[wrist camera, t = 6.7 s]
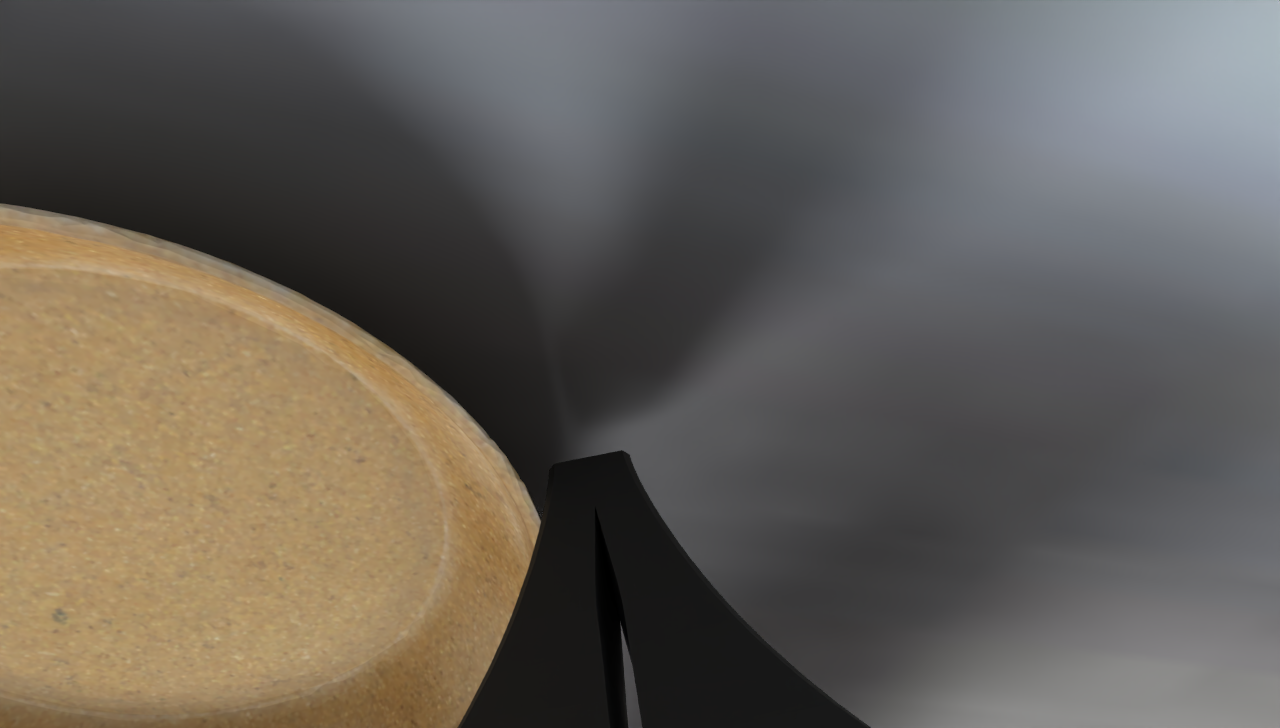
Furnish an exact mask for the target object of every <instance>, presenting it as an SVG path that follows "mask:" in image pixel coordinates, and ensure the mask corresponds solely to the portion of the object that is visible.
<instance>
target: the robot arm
mask: <svg viewBox="0 0 1280 728" xmlns="http://www.w3.org/2000/svg"><path fill="white" fill-rule="evenodd" d="M620 622H621V625H622V629H623V633H624V636H625V640H626V644H627V648H628V651H629V655H630V659H631V662H632V666H633V671H634V677H635V683H636V689H637V695H638V702H639V708H640V715H641V721H642V727H643V728H871V727H869V726H868V725H867V724H865V723H864V722H862V721H861V720H859V719H858V718H857V717H855V716H854V715H853V714H851V713H850V712H849V711H847V710H846V709H845V708H843V707H842V706H841V705H839V704H838V703H837V702H835V701H834V700H833V699H832V698H830V697H829V696H828V695H827V694H825V693H824V692H823V691H822V690H821V689H819V688H818V687H817V686H816V685H814V684H813V683H812V682H811V681H809V680H808V679H807V678H806V677H804V676H803V675H802V674H801V673H800V672H799V671H798V670H797V669H796V668H794V667H793V666H792V665H791V664H790V663H789V662H788V661H787V660H786V659H784V658H783V657H782V656H781V655H780V654H779V653H778V652H777V651H775V650H774V649H773V648H772V647H771V646H770V645H769V644H768V643H767V642H765V641H764V640H763V639H762V638H761V637H760V636H759V635H758V634H757V633H756V632H755V631H754V630H753V629H752V628H751V627H750V626H749V625H748V624H747V623H746V622H745V621H744V620H743V619H742V618H741V617H740V616H739V615H738V613H737V612H736V611H735V610H734V609H733V608H732V607H731V606H730V605H729V604H728V603H727V602H726V601H725V599H724V598H723V597H722V596H721V595H720V594H719V593H718V592H717V590H716V589H715V588H714V587H713V586H712V585H711V583H710V582H709V581H708V580H707V579H706V577H705V576H704V575H703V574H702V572H701V571H700V570H699V569H698V567H697V566H696V565H695V564H694V562H693V561H692V560H691V559H690V557H689V556H688V555H687V553H686V552H685V551H684V549H683V548H682V547H681V545H680V544H679V543H678V541H677V540H676V538H675V537H674V535H673V534H672V532H671V531H670V529H669V528H668V527H667V525H666V524H665V522H664V521H663V519H662V518H661V516H660V515H659V513H658V511H657V510H656V508H655V507H654V505H653V503H652V502H651V500H650V498H649V496H648V495H647V493H646V491H645V489H644V487H643V486H642V484H641V482H640V480H639V478H638V476H637V473H636V471H635V469H634V466H633V464H632V461H631V458H630V455H629V454H628V453H626V452H624V451H617V452H612V453H606V454H601V455H596V456H591V457H586V458H581V459H576V460H571V461H566V462H561V463H556V464H554V465H553V466H552V467H551V469H550V470H549V479H548V488H547V495H546V501H545V506H544V511H543V515H542V520H541V524H540V528H539V532H538V536H537V539H536V543H535V546H534V550H533V554H532V557H531V561H530V564H529V567H528V571H527V574H526V577H525V579H524V582H523V585H522V588H521V591H520V593H519V596H518V599H517V602H516V605H515V608H514V610H513V613H512V616H511V618H510V621H509V623H508V626H507V628H506V630H505V633H504V635H503V638H502V640H501V642H500V644H499V647H498V649H497V651H496V653H495V655H494V658H493V660H492V662H491V664H490V666H489V668H488V671H487V673H486V674H485V676H484V678H483V680H482V682H481V684H480V686H479V688H478V690H477V692H476V694H475V696H474V698H473V700H472V702H471V704H470V706H469V708H468V709H467V711H466V713H465V715H464V717H463V719H462V720H461V722H460V724H459V726H458V727H457V728H628V721H627V708H626V694H625V680H624V667H623V653H622V640H621V626H620Z"/></svg>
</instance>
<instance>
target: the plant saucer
mask: <svg viewBox="0 0 1280 728" xmlns="http://www.w3.org/2000/svg"><path fill="white" fill-rule="evenodd" d="M540 524H541V518H540V516H539V513H538V511H537V509H536V507H535V505H534V503H533V501H532V499H531V497H530V495H529V492H528V490H527V488H526V486H525V484H524V483H523V482H522V480H521V479H520V477H519V476H518V474H517V472H516V471H515V469H514V468H513V466H512V465H511V464H510V462H509V460H508V458H507V457H506V456H505V454H504V453H503V452H502V451H501V450H500V449H499V447H498V446H497V445H496V443H495V442H494V441H493V440H492V439H491V438H490V437H489V436H488V434H487V433H486V431H485V430H484V429H483V428H482V427H481V426H480V425H479V424H478V423H477V422H476V421H475V420H474V419H473V418H472V417H471V416H470V415H469V414H468V413H467V412H466V410H465V409H464V408H463V407H462V406H461V405H460V404H459V403H458V402H457V401H456V400H455V399H454V398H453V397H452V396H451V395H449V394H448V393H447V392H446V391H445V390H444V389H442V388H441V387H440V386H439V385H438V384H436V383H435V382H434V381H433V380H432V379H431V378H429V377H428V376H427V375H426V374H425V373H423V372H422V371H421V370H419V369H418V368H417V367H416V366H414V365H413V364H412V363H411V362H409V361H408V360H407V359H405V358H404V357H403V356H401V355H400V354H398V353H397V352H396V351H394V350H393V349H392V348H390V347H389V346H388V345H386V344H384V343H383V342H381V341H380V340H378V339H377V338H375V337H374V336H372V335H371V334H369V333H368V332H366V331H365V330H363V329H362V328H360V327H359V326H357V325H356V324H354V323H353V322H351V321H349V320H347V319H346V318H344V317H342V316H341V315H339V314H337V313H335V312H334V311H332V310H330V309H328V308H326V307H324V306H322V305H320V304H318V303H316V302H314V301H312V300H311V299H309V298H307V297H306V296H304V295H302V294H300V293H298V292H296V291H294V290H292V289H289V288H287V287H285V286H283V285H281V284H278V283H276V282H274V281H272V280H270V279H268V278H266V277H263V276H261V275H258V274H256V273H253V272H251V271H249V270H247V269H245V268H243V267H240V266H238V265H236V264H233V263H231V262H228V261H225V260H222V259H219V258H217V257H214V256H211V255H208V254H205V253H203V252H200V251H197V250H194V249H191V248H189V247H186V246H183V245H180V244H177V243H173V242H170V241H167V240H164V239H160V238H157V237H154V236H151V235H148V234H144V233H140V232H136V231H132V230H128V229H124V228H120V227H116V226H113V225H109V224H105V223H101V222H96V221H92V220H88V219H84V218H80V217H75V216H70V215H65V214H60V213H54V212H49V211H44V210H39V209H33V208H28V207H22V206H15V205H8V204H1V203H0V728H457V727H458V726H459V724H460V722H461V720H462V719H463V717H464V715H465V713H466V711H467V709H468V708H469V706H470V704H471V702H472V700H473V698H474V696H475V694H476V692H477V690H478V688H479V686H480V684H481V682H482V680H483V678H484V676H485V674H486V673H487V671H488V668H489V666H490V664H491V662H492V660H493V658H494V655H495V653H496V651H497V649H498V647H499V644H500V642H501V640H502V638H503V635H504V633H505V630H506V628H507V626H508V623H509V621H510V618H511V616H512V613H513V610H514V608H515V605H516V602H517V599H518V596H519V593H520V591H521V588H522V585H523V582H524V579H525V577H526V574H527V571H528V567H529V564H530V561H531V557H532V554H533V550H534V546H535V543H536V539H537V536H538V532H539V528H540Z"/></svg>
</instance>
